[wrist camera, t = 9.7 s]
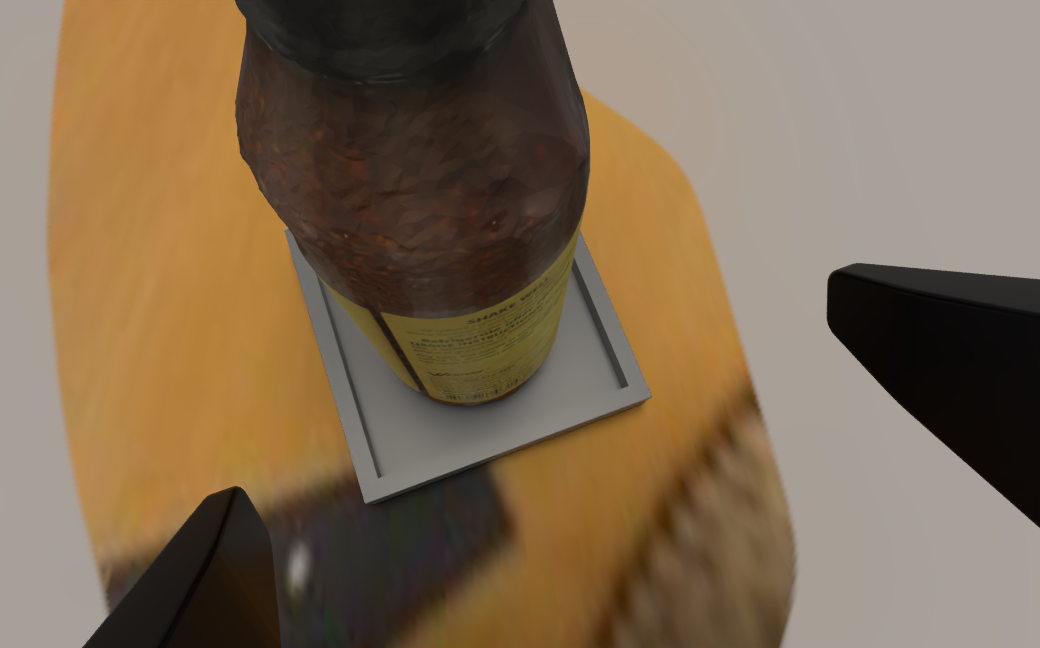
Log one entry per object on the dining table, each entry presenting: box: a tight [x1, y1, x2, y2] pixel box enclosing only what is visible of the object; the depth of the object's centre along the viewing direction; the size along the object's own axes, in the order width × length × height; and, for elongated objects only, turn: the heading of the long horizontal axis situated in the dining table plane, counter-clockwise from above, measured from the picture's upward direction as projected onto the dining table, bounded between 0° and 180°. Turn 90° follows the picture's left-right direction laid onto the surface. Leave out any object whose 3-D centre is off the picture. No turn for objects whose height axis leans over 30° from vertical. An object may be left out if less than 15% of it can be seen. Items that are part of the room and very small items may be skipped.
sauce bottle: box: [235, 0, 590, 406], centre depth 13 cm, size 7×6×20 cm
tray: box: [285, 229, 652, 505], centre depth 23 cm, size 10×10×2 cm
